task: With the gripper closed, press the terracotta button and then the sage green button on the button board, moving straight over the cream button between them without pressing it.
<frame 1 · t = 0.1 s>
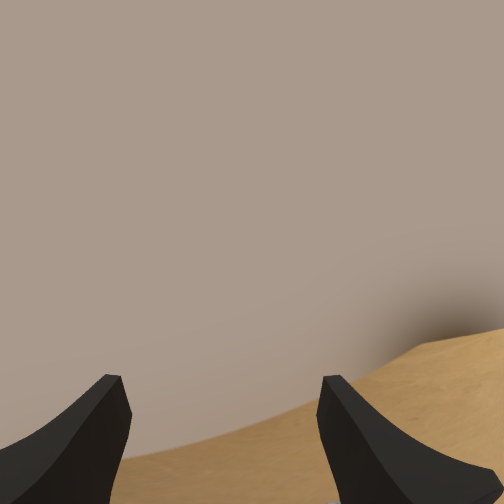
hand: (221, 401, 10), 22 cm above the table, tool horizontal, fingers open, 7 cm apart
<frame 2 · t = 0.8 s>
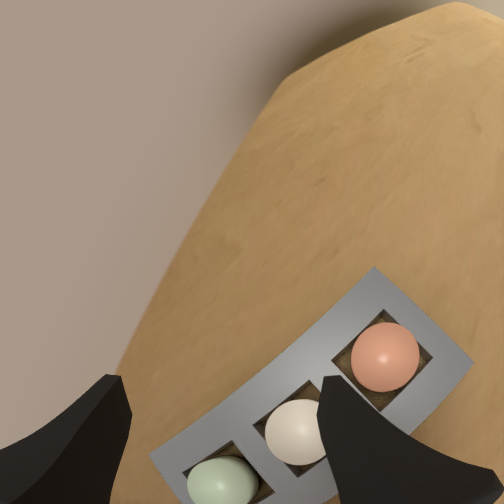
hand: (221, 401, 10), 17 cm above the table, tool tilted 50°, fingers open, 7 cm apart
button terracotta: (383, 359, 21), point 3 cm above the table, slide at 0.0 cm
button board: (308, 427, 23), on the table
button cream: (302, 431, 20), point 3 cm above the table, slide at 0.0 cm
button sage: (223, 485, 20), point 3 cm above the table, slide at 0.0 cm
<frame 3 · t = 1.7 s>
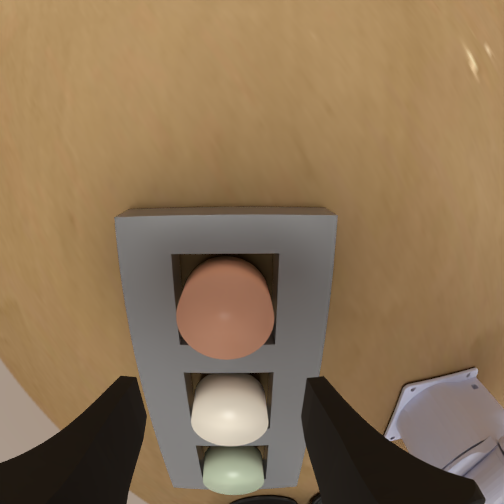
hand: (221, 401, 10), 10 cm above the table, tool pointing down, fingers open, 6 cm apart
button terracotta: (225, 307, 17), point 3 cm above the table, slide at 0.0 cm
button board: (229, 381, 22), on the table
milk frother: (293, 502, 30), on the table
button cream: (229, 409, 20), point 3 cm above the table, slide at 0.0 cm
button sage: (233, 469, 22), point 3 cm above the table, slide at 0.0 cm
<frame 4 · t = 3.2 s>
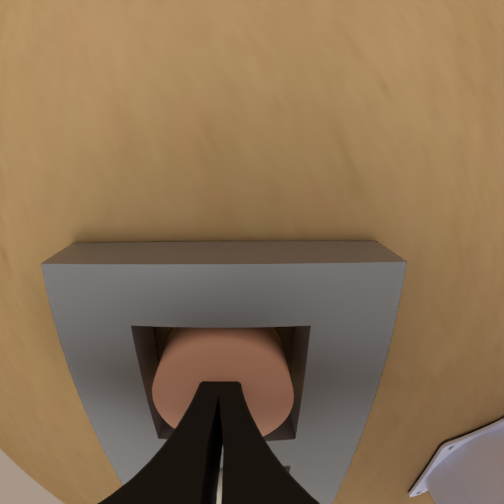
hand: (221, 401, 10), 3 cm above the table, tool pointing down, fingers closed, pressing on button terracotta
button terracotta: (223, 378, 11), point 2 cm above the table, slide at 1.6 cm, touching gripper
button board: (230, 460, 15), on the table
button cream: (230, 503, 12), point 3 cm above the table, slide at 0.0 cm
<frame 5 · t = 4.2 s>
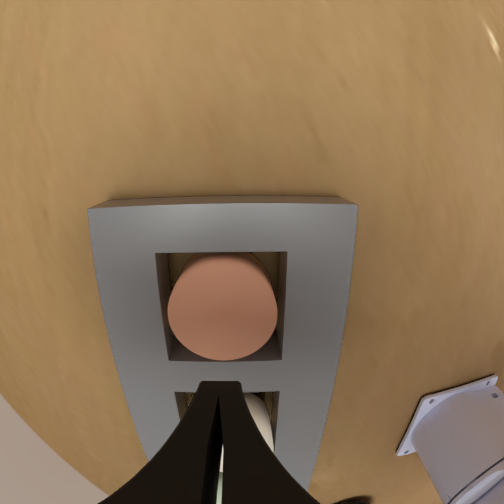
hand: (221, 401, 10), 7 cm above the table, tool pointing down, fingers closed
button terracotta: (223, 302, 15), point 2 cm above the table, slide at 1.6 cm
button board: (228, 398, 19), on the table
button cream: (228, 433, 16), point 3 cm above the table, slide at 0.0 cm
button sage: (233, 492, 19), point 3 cm above the table, slide at 0.0 cm
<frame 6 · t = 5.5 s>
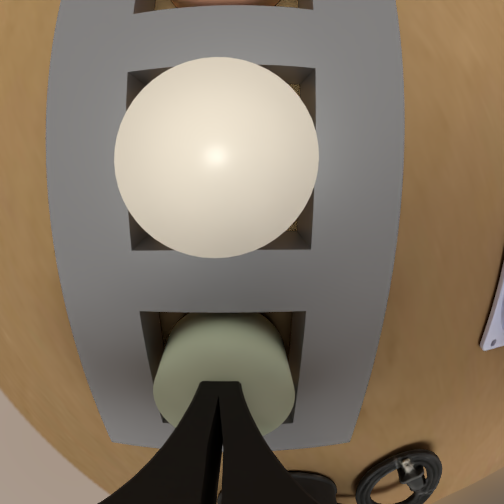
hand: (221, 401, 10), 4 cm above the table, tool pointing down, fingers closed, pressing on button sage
button board: (222, 156, 11), on the table
milk frother: (328, 485, 19), on the table
button cream: (217, 156, 9), point 3 cm above the table, slide at 0.0 cm
button sage: (224, 377, 11), point 2 cm above the table, slide at 0.6 cm, touching gripper
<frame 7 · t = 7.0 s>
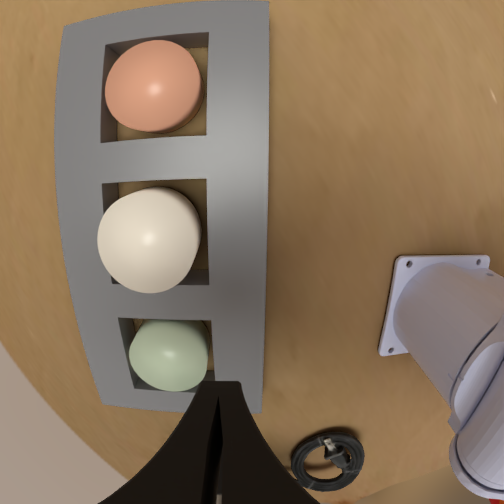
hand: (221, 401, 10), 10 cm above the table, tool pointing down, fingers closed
button terracotta: (156, 88, 15), point 2 cm above the table, slide at 1.6 cm
button board: (164, 224, 19), on the table
milk frother: (269, 456, 26), on the table
button cream: (151, 237, 16), point 3 cm above the table, slide at 0.0 cm
button sage: (170, 350, 20), point 2 cm above the table, slide at 1.6 cm
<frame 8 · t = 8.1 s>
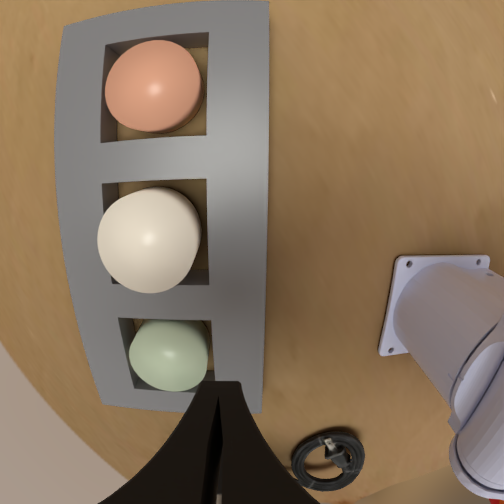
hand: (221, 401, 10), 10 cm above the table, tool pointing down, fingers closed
button terracotta: (156, 88, 15), point 2 cm above the table, slide at 1.6 cm
button board: (164, 224, 19), on the table
milk frother: (270, 456, 26), on the table
button cream: (151, 237, 16), point 3 cm above the table, slide at 0.0 cm
button sage: (170, 350, 20), point 2 cm above the table, slide at 1.6 cm
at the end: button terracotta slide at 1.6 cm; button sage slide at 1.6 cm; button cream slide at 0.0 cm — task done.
